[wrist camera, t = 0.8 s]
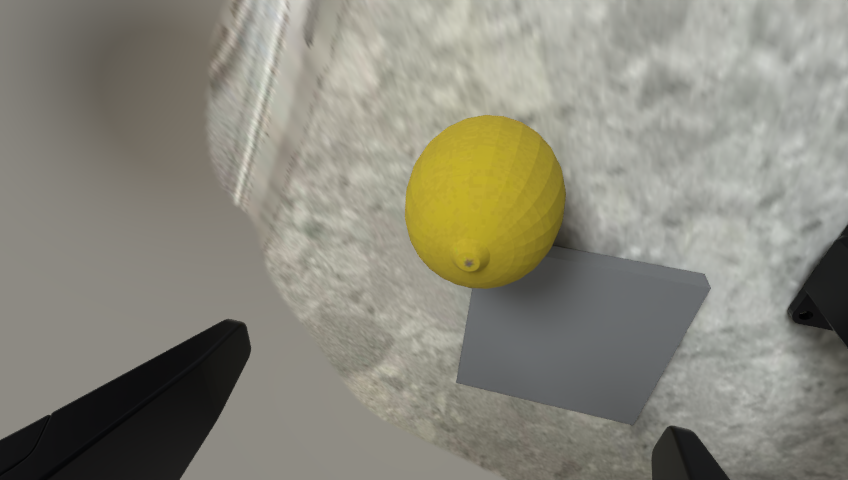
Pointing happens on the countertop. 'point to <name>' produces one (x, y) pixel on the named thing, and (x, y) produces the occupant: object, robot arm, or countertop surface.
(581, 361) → the mat
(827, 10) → the countertop surface
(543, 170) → the lemon
